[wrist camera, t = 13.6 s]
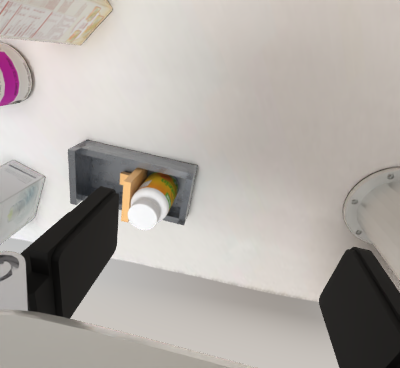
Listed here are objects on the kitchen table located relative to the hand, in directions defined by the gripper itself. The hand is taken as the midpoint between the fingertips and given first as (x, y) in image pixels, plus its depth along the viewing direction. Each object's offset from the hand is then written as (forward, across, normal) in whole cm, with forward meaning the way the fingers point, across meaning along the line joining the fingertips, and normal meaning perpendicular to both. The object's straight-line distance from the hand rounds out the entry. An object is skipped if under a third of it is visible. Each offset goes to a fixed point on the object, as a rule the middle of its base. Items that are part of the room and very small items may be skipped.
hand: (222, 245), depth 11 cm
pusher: (+28, +14, +13) cm, 33 cm away
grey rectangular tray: (+28, +13, +13) cm, 34 cm away
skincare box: (+29, +34, +21) cm, 49 cm away
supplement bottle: (+28, +9, +13) cm, 32 cm away
